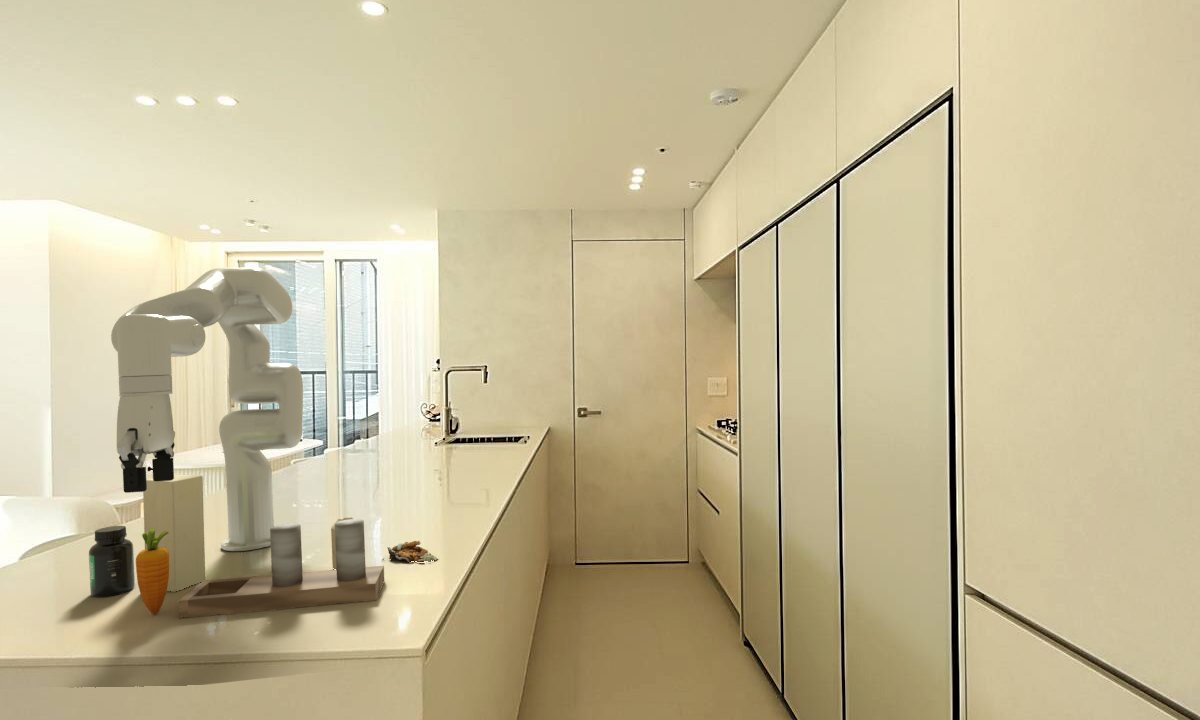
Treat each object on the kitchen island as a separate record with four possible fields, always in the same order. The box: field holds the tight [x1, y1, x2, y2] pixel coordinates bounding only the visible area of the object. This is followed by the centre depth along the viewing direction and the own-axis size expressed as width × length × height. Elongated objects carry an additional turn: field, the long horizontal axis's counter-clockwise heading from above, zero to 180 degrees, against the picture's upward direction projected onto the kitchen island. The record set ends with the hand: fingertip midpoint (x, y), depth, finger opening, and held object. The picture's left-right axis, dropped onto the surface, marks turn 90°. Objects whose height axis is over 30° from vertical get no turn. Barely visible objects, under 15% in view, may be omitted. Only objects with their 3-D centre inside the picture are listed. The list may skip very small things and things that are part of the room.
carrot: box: [135, 528, 169, 615], centre depth 114 cm, size 5×5×15 cm
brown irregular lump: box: [381, 540, 438, 563], centre depth 141 cm, size 7×12×4 cm, turn 71°
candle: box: [330, 517, 354, 569], centre depth 136 cm, size 6×6×10 cm
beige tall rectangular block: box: [142, 473, 206, 593], centre depth 129 cm, size 8×7×21 cm
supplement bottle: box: [88, 525, 136, 598], centre depth 126 cm, size 7×7×12 cm
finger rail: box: [177, 518, 385, 619], centre depth 119 cm, size 10×32×13 cm, turn 100°
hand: (150, 486), depth 114 cm, fingers open, 9 cm apart
